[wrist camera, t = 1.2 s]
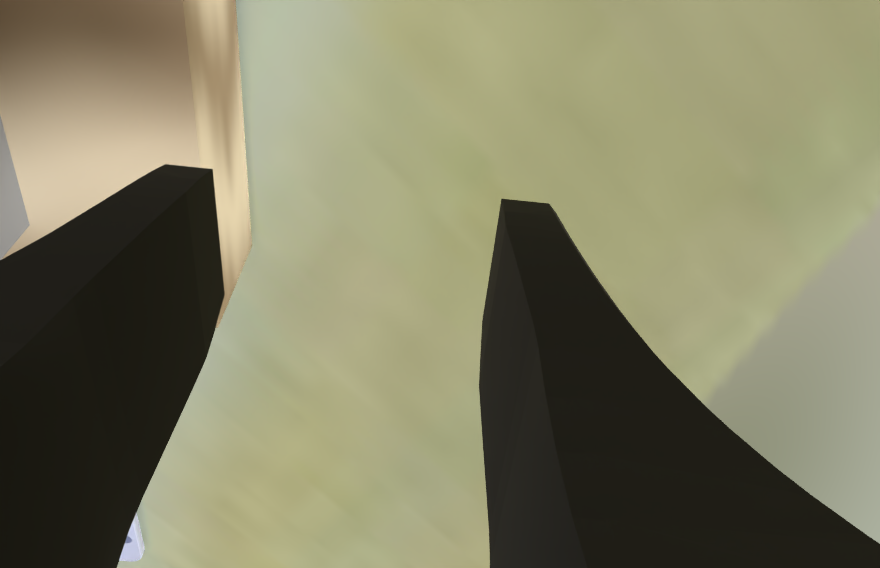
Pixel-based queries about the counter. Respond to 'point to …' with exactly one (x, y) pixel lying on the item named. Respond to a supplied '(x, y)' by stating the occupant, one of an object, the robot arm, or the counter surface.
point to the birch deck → (123, 107)
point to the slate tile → (9, 200)
